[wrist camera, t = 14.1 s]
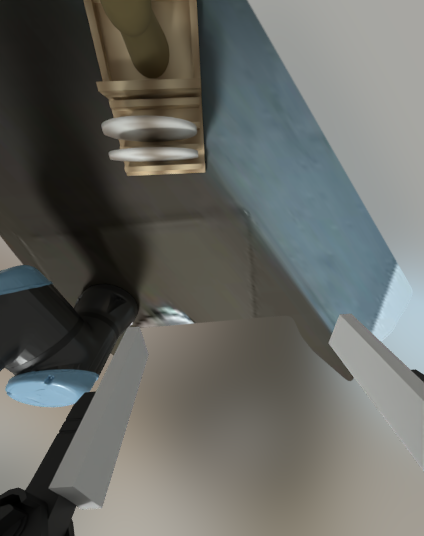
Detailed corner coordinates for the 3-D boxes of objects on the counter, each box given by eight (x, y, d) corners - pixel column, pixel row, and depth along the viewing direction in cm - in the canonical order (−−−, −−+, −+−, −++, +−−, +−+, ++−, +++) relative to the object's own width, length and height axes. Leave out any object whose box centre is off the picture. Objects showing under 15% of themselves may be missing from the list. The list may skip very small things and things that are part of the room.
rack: (129, 175, 35) (88, 176, 23) (88, -3, 25) (-27, -179, 12) (205, 172, 35) (206, 171, 23) (196, -5, 25) (189, -181, 13)
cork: (174, 73, 28) (159, 19, 18) (137, 83, 28) (103, 35, 18) (161, 14, 25) (135, -87, 15) (121, 26, 25) (70, -66, 16)
